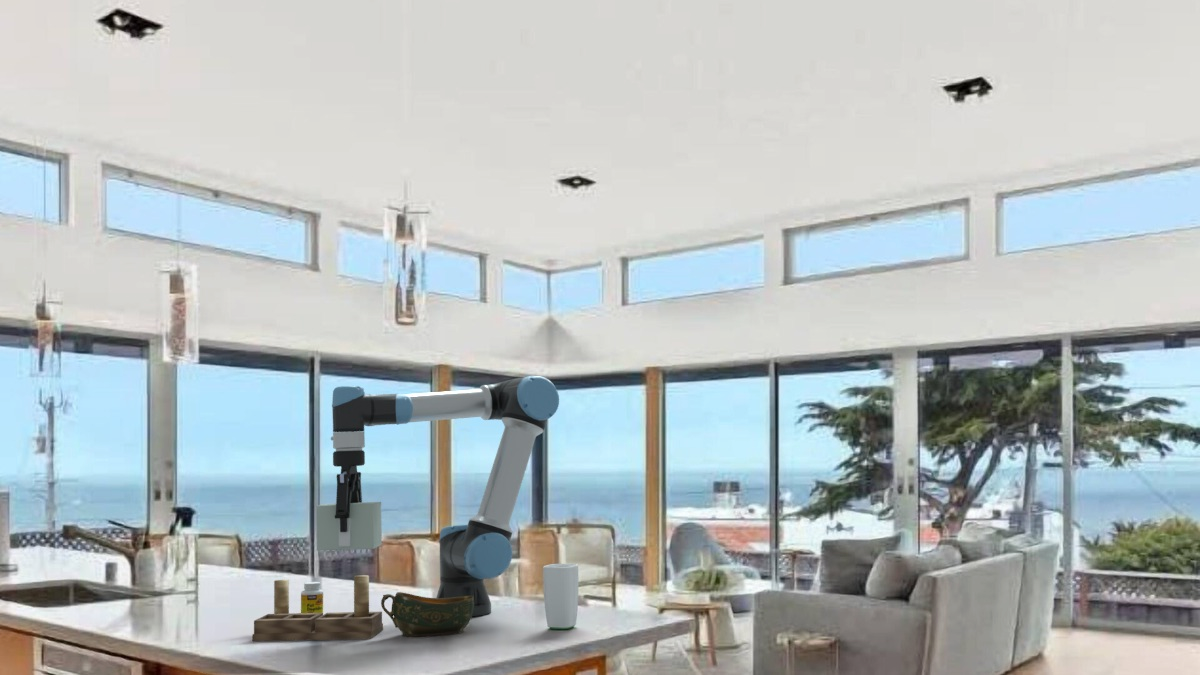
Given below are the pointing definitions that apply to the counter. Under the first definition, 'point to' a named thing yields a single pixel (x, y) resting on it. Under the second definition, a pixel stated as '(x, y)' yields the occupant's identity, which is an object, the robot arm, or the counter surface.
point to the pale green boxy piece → (362, 526)
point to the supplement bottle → (312, 598)
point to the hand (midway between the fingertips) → (349, 543)
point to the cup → (560, 595)
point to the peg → (281, 597)
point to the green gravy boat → (429, 614)
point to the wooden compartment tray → (324, 621)
